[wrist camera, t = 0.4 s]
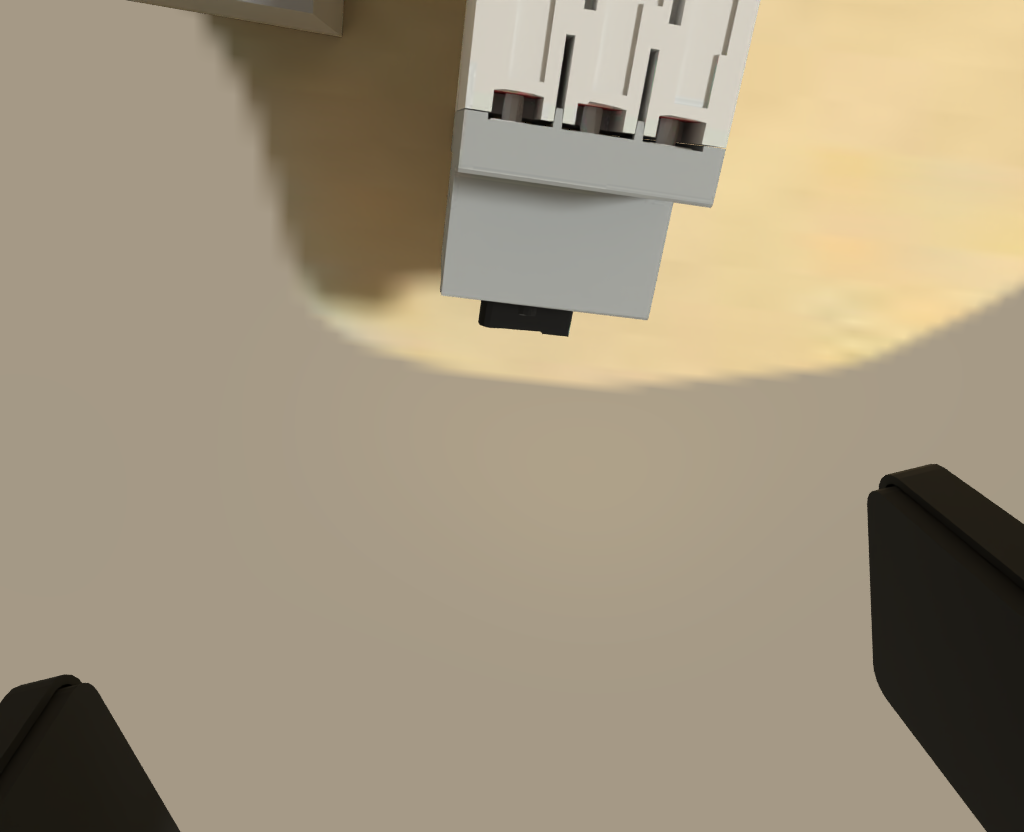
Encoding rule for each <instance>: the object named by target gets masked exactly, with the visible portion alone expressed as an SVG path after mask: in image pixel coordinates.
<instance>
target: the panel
mask: <svg viewBox="0 0 1024 832" xmlns="http://www.w3.org/2000/svg"><path fill="white" fill-rule="evenodd" d="M128 1H134V2H140V3H146V4H152V5H158V6H164V7H169V8H175V9H181V10H187V11H193V12H198V13H204V14H210V15H216V16H222V17H228V18H233V19H239V20H245V21H251V22H257V23H263V24H268V25H274V26H280V27H286V28H292V29H298V30H303V31H309V32H315V33H321V34H327V35H332V36H338V37H342V27H343V10H344V0H128Z"/></svg>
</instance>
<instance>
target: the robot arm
mask: <svg viewBox="0 0 1024 832" xmlns="http://www.w3.org/2000/svg"><path fill="white" fill-rule="evenodd" d="M867 507H868V509H867V510H868V536H869V564H870V587H871V588H870V589H871V590H870V591H871V617H872V642H873V643H872V644H873V665H874V672H875V676H876V679H877V682H878V684H879V687H880V689H881V691H882V693H883V694H884V696H885V697H886V699H887V700H888V702H889V703H890V704H891V706H892V707H893V708H894V710H895V711H896V712H897V714H898V715H899V716H900V718H901V719H902V720H903V721H904V723H905V724H906V726H907V727H908V728H909V730H910V731H911V732H912V733H913V735H914V736H915V737H916V739H917V740H918V741H919V743H920V744H921V745H922V747H923V748H924V749H925V751H926V752H927V753H928V755H929V756H930V757H931V758H932V760H933V761H934V763H935V764H936V765H937V766H938V768H939V769H940V770H941V772H942V773H943V774H944V776H945V777H946V778H947V780H948V781H949V782H950V784H951V785H952V786H953V788H954V789H955V790H956V791H957V793H958V794H959V795H960V797H961V798H962V799H963V801H964V802H965V804H966V805H967V806H968V808H969V809H970V810H971V811H972V813H973V814H974V815H975V817H976V818H977V819H978V821H979V822H980V823H981V825H982V826H983V827H984V828H985V830H986V831H987V832H1024V524H1022V523H1021V522H1020V521H1018V520H1017V519H1015V518H1014V517H1013V516H1011V515H1010V514H1009V513H1007V512H1006V511H1004V510H1003V509H1002V508H1000V507H999V506H997V505H996V504H994V503H993V502H991V501H990V500H989V499H987V498H986V497H984V496H983V495H982V494H980V493H979V492H978V491H976V490H975V489H973V488H972V487H970V486H969V485H968V484H966V483H965V482H963V481H962V480H961V479H959V478H958V477H956V476H955V475H953V474H952V473H951V472H949V471H948V470H947V469H945V468H944V467H942V466H939V465H938V464H929V465H925V466H921V467H917V468H913V469H909V470H904V471H900V472H896V473H892V474H888V475H885V476H884V477H883V478H882V479H881V481H880V484H879V490H876V491H872V492H871V493H870V494H869V496H868V501H867ZM0 832H180V830H179V829H178V827H177V825H176V823H175V822H174V820H173V818H172V817H171V815H170V813H169V812H168V810H167V808H166V807H165V805H164V803H163V801H162V800H161V798H160V796H159V795H158V793H157V791H156V790H155V788H154V786H153V784H152V783H151V781H150V780H149V778H148V776H147V774H146V773H145V771H144V769H143V767H142V766H141V764H140V763H139V761H138V759H137V757H136V756H135V754H134V752H133V751H132V749H131V747H130V745H129V744H128V742H127V740H126V739H125V737H124V735H123V734H122V732H121V730H120V728H119V727H118V725H117V723H116V722H115V720H114V718H113V717H112V715H111V713H110V711H109V710H108V708H107V706H106V705H105V703H104V701H103V700H102V698H101V696H100V694H99V693H98V691H97V690H96V689H95V687H94V686H92V685H91V684H89V683H82V682H81V681H80V680H79V679H78V678H76V677H75V676H73V675H61V676H57V677H53V678H49V679H45V680H40V681H36V682H32V683H28V684H24V685H20V686H18V687H15V688H13V689H12V690H11V691H10V692H9V693H8V694H7V695H6V696H5V697H4V699H3V700H2V701H1V703H0Z"/></svg>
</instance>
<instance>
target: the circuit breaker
mask: <svg viewBox="0 0 1024 832" xmlns="http://www.w3.org/2000/svg"><path fill="white" fill-rule="evenodd" d="M759 4H760V0H467V1H466V11H465V20H464V30H463V40H462V49H461V59H460V68H459V78H458V87H457V97H456V107H455V111H456V112H455V116H454V126H453V135H452V145H451V152H452V160H451V169H450V179H449V188H448V198H447V207H446V217H445V226H444V236H443V245H442V255H441V286H440V292H441V295H443V296H452V297H460V298H468V299H476V300H481V306H480V314H479V321H478V322H479V324H480V325H482V326H485V327H489V328H505V329H517V330H528V331H540V332H542V334H549V335H558V336H567V337H568V335H569V330H570V325H571V319H572V314H573V311H576V312H584V313H592V314H600V315H609V316H617V317H625V318H634V319H642V320H648V318H649V313H650V308H651V304H652V299H653V295H654V290H655V285H656V281H657V276H658V271H659V267H660V262H661V257H662V253H663V248H664V243H665V239H666V234H667V229H668V225H669V220H670V215H671V211H672V206H673V202H674V203H681V204H688V205H695V206H702V207H709V208H711V207H712V205H713V201H714V197H715V193H716V189H717V184H718V180H719V176H720V172H721V167H722V163H723V159H724V154H725V150H726V149H721V148H726V146H727V142H728V137H729V133H730V129H731V124H732V120H733V116H734V112H735V107H736V103H737V99H738V94H739V90H740V86H741V81H742V77H743V73H744V68H745V64H746V60H747V56H748V51H749V47H750V43H751V38H752V34H753V30H754V25H755V21H756V17H757V13H758V8H759ZM494 117H498V118H502V119H495V118H494ZM521 122H530V123H532V124H527V123H521ZM545 125H550V126H551V127H546V126H545ZM562 128H567V129H576V130H580V131H573V130H566V129H562ZM599 133H600V134H599ZM601 134H606V135H601ZM610 135H613V136H610ZM618 136H620V137H618ZM645 139H649V140H645ZM654 140H656V141H654ZM681 143H685V144H681ZM690 144H694V145H690ZM699 145H703V146H699ZM708 146H712V147H708ZM714 147H721V148H714Z"/></svg>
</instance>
